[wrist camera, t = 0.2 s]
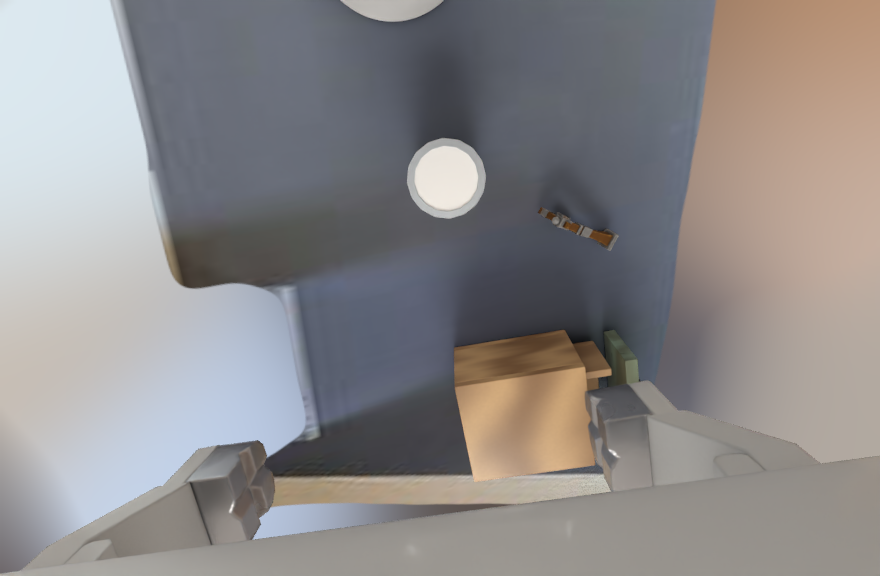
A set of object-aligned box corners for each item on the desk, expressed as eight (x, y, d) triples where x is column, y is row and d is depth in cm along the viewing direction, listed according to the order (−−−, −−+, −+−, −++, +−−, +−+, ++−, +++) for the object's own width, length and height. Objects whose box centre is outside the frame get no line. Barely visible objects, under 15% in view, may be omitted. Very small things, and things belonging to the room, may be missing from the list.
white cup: (467, 214, 49) (470, 228, 42) (404, 193, 48) (397, 204, 42) (490, 148, 47) (497, 153, 40) (424, 125, 46) (420, 126, 39)
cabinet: (564, 329, 53) (585, 366, 45) (574, 416, 57) (595, 465, 49) (453, 347, 54) (454, 387, 46) (470, 431, 58) (474, 482, 50)
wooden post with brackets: (536, 198, 47) (562, 213, 44) (592, 220, 51) (620, 235, 47) (528, 215, 48) (553, 231, 44) (584, 235, 52) (611, 251, 48)
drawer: (625, 327, 52) (650, 357, 45) (631, 408, 55) (654, 445, 49) (510, 346, 53) (518, 377, 46) (522, 424, 56) (532, 463, 50)
